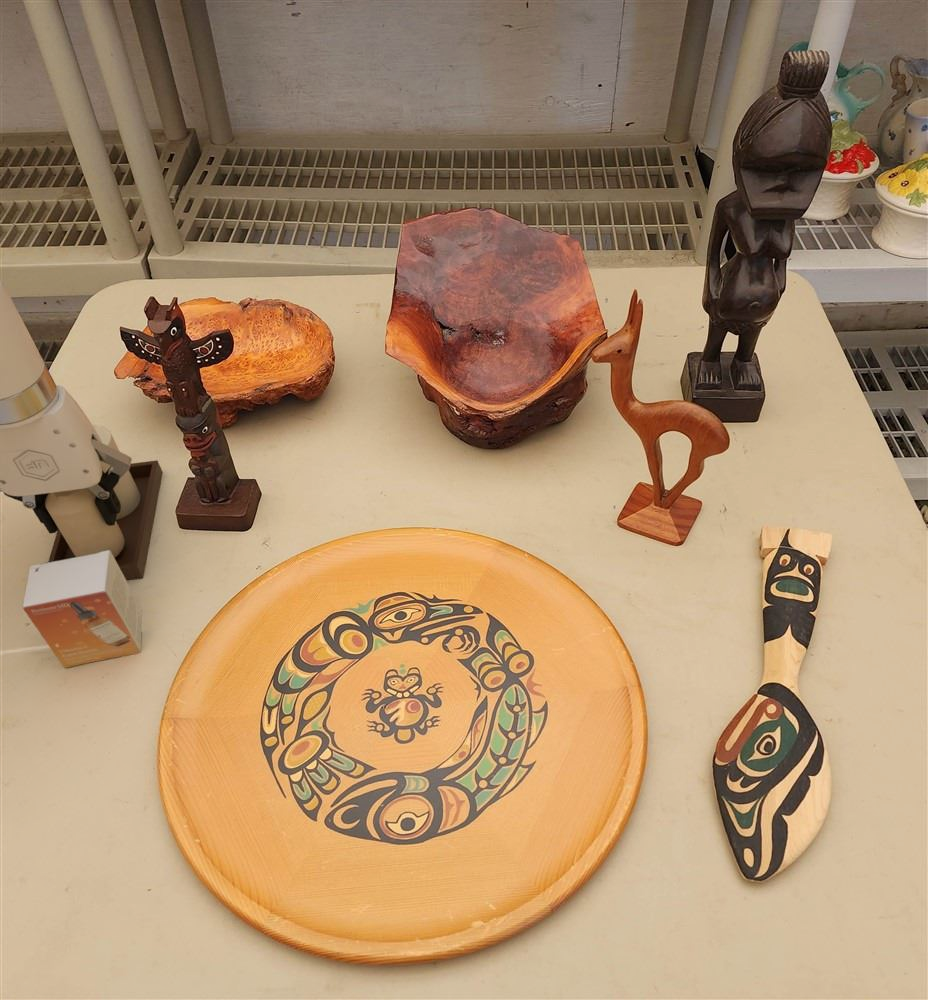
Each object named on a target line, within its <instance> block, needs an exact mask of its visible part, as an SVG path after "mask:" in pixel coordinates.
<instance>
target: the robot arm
mask: <svg viewBox="0 0 928 1000" xmlns="http://www.w3.org/2000/svg"><path fill="white" fill-rule="evenodd" d="M7 289H8V288H6V286H5V284H4V282H3V280H2V279H1V278H0V493H3V494H4V496H5V497H9V498H10V499H14V500H16V501H18V502H20V503H22V506H23V507H24V508H26V509H29V510H32V511H33V513H34V514H35V516H36V517H37V519H38V521H39V522H40V524H43V526H44V527H45V528H46V530H47V532H48V534H57V530H58V527H57V525H56V523H55V522H54V520H53V519H52V517H51V515H50V514H49V512H48V510H47V509H46V506H45V500H46V497H47V495H48V494H49V493H53V492H61V491H69V490H76V489H83V488H88V489H89V490H90V491H91V492H92V493H94V494H95V495H96V499H95V504H96V506H97V508H98V510H99V511H100V513H101V515H102V517H103V519H104V521H105V522H106V524H107V525H109V526H112V525H115V521H116V517H117V514H118V513H120V510H121V504H120V501H119V499H118V497H117V495H116V493H115V491H114V489H113V488H114V487H115V486H116V485H117V483H118V482H119V479H120V478H121V477H123V475H124V474H125V473H126V472H127V471H128V470H129V469H130V465H131V464H132V460H133V459H132V457H131V456H130V455H127V454H126V453H123V452H121V451H120V450H119V451H120V452H119V451H117V450H115V449H113V448H111V447H109V446H107V445H105V444H103V443H102V441H101V439H100V437H99V436H98V434H97V432H96V430H95V429H94V427H93V425H94V424H92V422H91V421H90V419H89V418H88V416H87V415H86V413H85V412H84V410H83V409H82V407H81V406H80V405H79V404H78V402H77V401H76V400H75V398H74V397H73V396H72V395H71V394H70V393H69V391H68V390H67V389H66V388H65V387H64V386H63V385H58V384H56V382H55V380H54V378H53V377H52V374H51V373H50V370H49V368H48V367H47V365H46V363H45V361H44V359H43V357H42V355H41V353H40V352H39V349H38V347H37V346H36V344H35V342H34V339H33V338H32V336H31V334H30V331H29V330H28V328H27V326H26V325H25V323H24V320H23V318H22V316H21V314H20V313H19V310H18V309H17V308H16V305H15V303H14V301H13V299H12V297H11V295H10V294H9V291H8V290H7ZM100 461H102V462H104V463H106V464H108V465H110V467H109V469H108V470H107V471H106V470H105V469H104V468H103V467H102V466H101V464H100Z"/></svg>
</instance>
